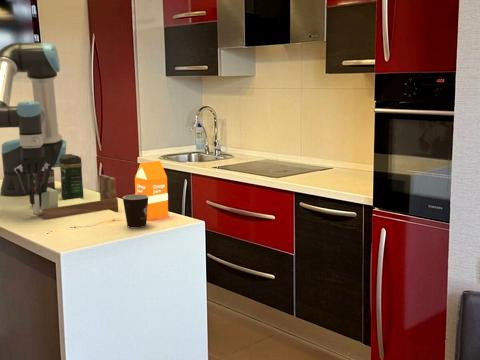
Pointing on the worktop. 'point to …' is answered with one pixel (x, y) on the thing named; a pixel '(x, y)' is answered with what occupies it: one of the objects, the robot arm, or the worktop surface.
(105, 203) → the shelf
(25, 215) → the worktop surface
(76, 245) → the worktop surface
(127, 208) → the coffee mug
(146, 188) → the orange juice
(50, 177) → the supplement box
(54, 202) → the bookend
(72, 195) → the coffee jar
